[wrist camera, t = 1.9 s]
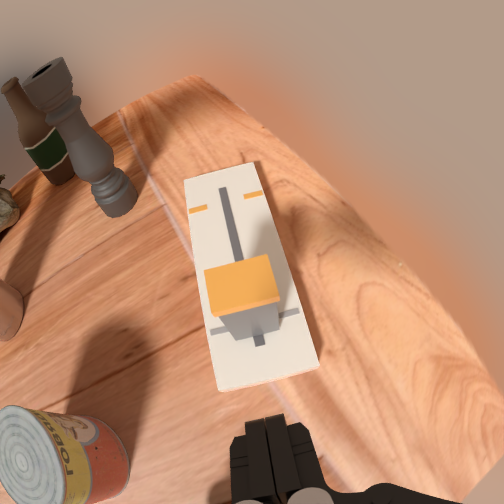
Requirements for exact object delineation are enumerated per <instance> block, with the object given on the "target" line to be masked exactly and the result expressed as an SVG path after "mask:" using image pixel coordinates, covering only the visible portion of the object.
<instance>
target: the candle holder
mask: <svg viewBox="0 0 504 504" xmlns="http://www.w3.org/2000/svg"><path fill="white" fill-rule="evenodd" d="M71 81H72V76H71V74H70V72H69V70H68V67H67V65H66V63H65V61H64V59H63V57H60V58H57V59H55V60H53V61H51V62H49V63H47V64H46V65H44V66H42V67H41V68H40V69H38V70H37V71H35V72H34V73H33V74H32V75H31V76H29V77H28V78H27V80H25V81H24V83H23V84H22V87H23V89H24V90H25V92H26V94H27V96H28V97H29V99H30V101H31V102H32V104H33V105H34V106H37V108H38V109H39V110H42V111H43V112H44V113H47V116H46V119H45V122H46V123H47V124H48V125H49V126H53V127H55V128H56V129H57V131H58V132H59V134H60V136H61V137H62V139H63V140H64V142H65V145H66V148H67V151H68V154H69V157H70V160H71V163H72V166H73V169H74V171H75V173H76V174H77V176H78V177H79V178H80V179H82V180H84V181H87V182H89V183H90V184H92V186H91V192H92V194H93V195H94V196H95V201H96V202H97V203H98V205H99V206H100V207H101V209H102V210H103V211H104V213H105V214H106V215H107V216H108V217H112V218H115V217H120V216H122V215H124V214H126V213H127V212H128V211H130V210H131V209H132V208H133V206H134V205H135V203H136V201H137V197H138V195H137V191H136V189H135V188H134V186H133V184H132V183H131V181H130V179H129V177H127V176H126V175H125V174H124V172H123V171H122V170H121V169H120V168H116V167H114V164H113V163H114V155H113V150H112V148H111V147H110V146H109V145H108V144H107V143H106V142H105V141H104V140H103V139H102V138H101V137H100V136H99V135H98V134H97V133H96V132H95V131H94V130H93V129H92V128H91V127H90V126H89V124H88V123H87V121H86V119H85V117H84V115H83V114H82V112H81V110H80V105H81V98H80V97H79V96H73V95H72V93H73V91H72V87H73V83H72V82H71Z"/></svg>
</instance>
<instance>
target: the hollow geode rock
mask: <svg viewBox="0 0 504 504" xmlns="http://www.w3.org/2000/svg"><path fill="white" fill-rule="evenodd" d="M4 176H5V174H3V175H0V184H1V181H2V180H3V179H5V177H4ZM19 216H20V210H19V207H18V205H17V204H16V202H15V201H14V200H13V199H12V195H11V192H10V191H9V190H7V189H5V188H0V232H1V231H3V230H4V229H6V228H8V227H10V226H12V225H14V224H15V223H16V222H17V221H18V219H19Z"/></svg>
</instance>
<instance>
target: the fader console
mask: <svg viewBox="0 0 504 504" xmlns="http://www.w3.org/2000/svg"><path fill="white" fill-rule="evenodd" d="M184 187H185V195H186V204H187V212H188V219H189V227H190V234H191V241H192V248H193V255H194V261H195V268H196V274H197V281H198V287H199V293H200V299H201V305H202V310H203V316H204V321H205V327H206V332H207V338H208V343H209V348H210V353H211V358H212V363H213V368H214V373H215V377H216V382H217V387H218V391H221V392H227V391H232V390H237V389H242V388H246V387H250V386H255V385H259V384H263V383H267V382H271V381H275V380H279V379H283V378H287V377H290V376H294V375H298V374H301V373H305V372H308V371H311V370H315V369H317V368H318V367H319V366H320V365H319V361H318V358H317V355H316V351H315V348H314V345H313V342H312V338H311V335H310V332H309V328H308V325H307V322H306V319H305V316H304V312H303V309H302V306H301V303H300V300H299V297H298V293H297V290H296V287H295V284H294V281H293V278H292V275H291V272H290V269H289V266H288V263H287V259H286V256H285V253H284V250H283V247H282V244H281V241H280V238H279V235H278V232H277V229H276V227H275V224H274V221H273V218H272V215H271V212H270V209H269V206H268V203H267V200H266V197H265V194H264V192H263V189H262V186H261V183H260V180H259V177H258V174H257V172H256V169H255V166H254V163H253V162H250V163H246V164H242V165H238V166H234V167H230V168H226V169H222V170H218V171H215V172H211V173H207V174H203V175H200V176H196V177H193V178H189V179H186V180H184ZM265 254H267V255H268V258H269V262H270V265H271V268H272V272H273V275H274V278H275V282H276V285H277V289H278V292H279V295H280V301H278V302H277V308H278V318H279V329H280V330H277V331H273V332H269V333H266V334H262V335H258V336H254V337H250V338H246V339H241V340H237V341H236V340H235V339H234V338H233V336H232V335H231V333H230V332H229V331H228V329H227V328H226V327H225V325H224V324H223V322H222V321H221V320H220V318H219V317H214V316H213V315H212V313H211V309H210V304H209V298H208V293H207V287H206V281H205V276H204V270H206V269H210V268H214V267H218V266H222V265H226V264H230V263H234V262H237V261H241V260H245V259H249V258H253V257H257V256H261V255H265Z"/></svg>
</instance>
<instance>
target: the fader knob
mask: <svg viewBox="0 0 504 504" xmlns="http://www.w3.org/2000/svg"><path fill="white" fill-rule="evenodd" d="M204 276H205V281H206V287H207V293H208V298H209V304H210V309H211V313H212V315H213V316H214V317H219V318H220V320H221V321H222V322H223V324H224V325H225V327H226V328H227V329H228V331H229V332H230V333H231V335H232V336H233V338H234V339H235V340H236V341H237V340H241V339H246V338H250V337H254V336H258V335H262V334H266V333H269V332H273V331H277V330H280V329H279V318H278V308H277V302H278V301H280V295H279V292H278V289H277V285H276V282H275V278H274V275H273V272H272V268H271V265H270V262H269V258H268V255H267V254H265V255H261V256H257V257H253V258H249V259H245V260H241V261H237V262H234V263H230V264H226V265H222V266H218V267H214V268H210V269H206V270H204Z"/></svg>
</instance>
